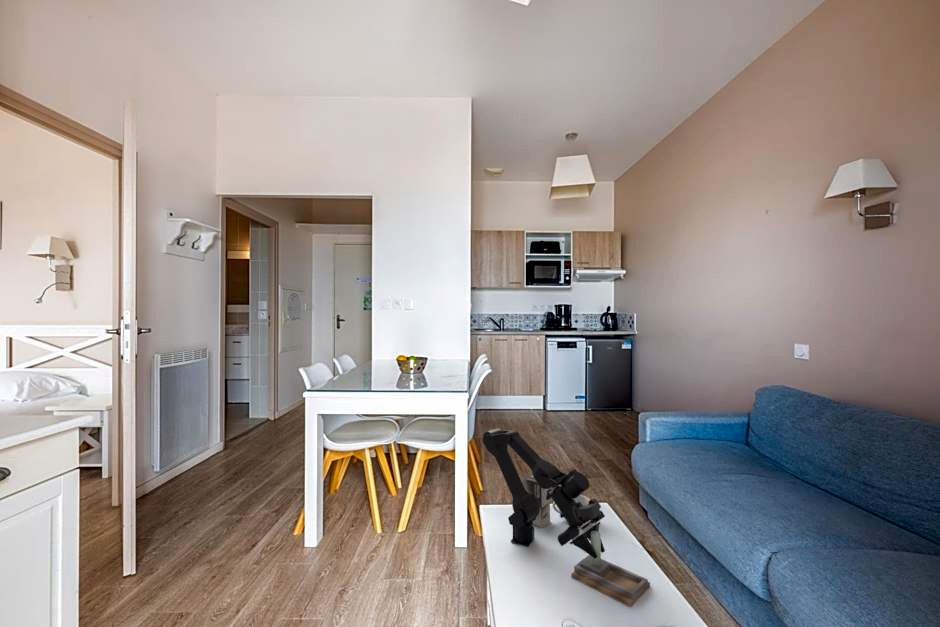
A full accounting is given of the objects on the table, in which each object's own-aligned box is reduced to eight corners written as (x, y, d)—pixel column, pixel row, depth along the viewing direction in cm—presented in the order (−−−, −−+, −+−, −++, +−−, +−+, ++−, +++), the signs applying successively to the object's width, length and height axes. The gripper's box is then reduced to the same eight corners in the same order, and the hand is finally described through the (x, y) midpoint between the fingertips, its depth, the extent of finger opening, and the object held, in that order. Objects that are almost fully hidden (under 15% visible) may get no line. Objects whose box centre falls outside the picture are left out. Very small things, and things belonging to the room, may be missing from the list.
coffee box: (551, 521, 159) (550, 478, 159) (542, 528, 155) (541, 483, 155) (529, 514, 165) (529, 472, 165) (520, 520, 160) (520, 477, 160)
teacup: (590, 515, 164) (590, 494, 164) (591, 529, 153) (591, 507, 153) (553, 512, 167) (553, 491, 167) (552, 525, 156) (552, 503, 156)
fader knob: (581, 570, 127) (581, 533, 127) (592, 562, 131) (591, 526, 131) (600, 579, 122) (599, 540, 122) (610, 570, 127) (610, 533, 127)
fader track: (571, 577, 126) (571, 568, 126) (592, 560, 134) (592, 552, 134) (630, 607, 113) (630, 597, 113) (650, 586, 121) (650, 577, 121)
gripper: (566, 502, 123) (601, 556, 115) (599, 483, 136) (633, 530, 128) (543, 520, 129) (576, 572, 121) (577, 500, 142) (608, 547, 134)
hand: (600, 554), depth 126 cm, fingers open, 4 cm apart
